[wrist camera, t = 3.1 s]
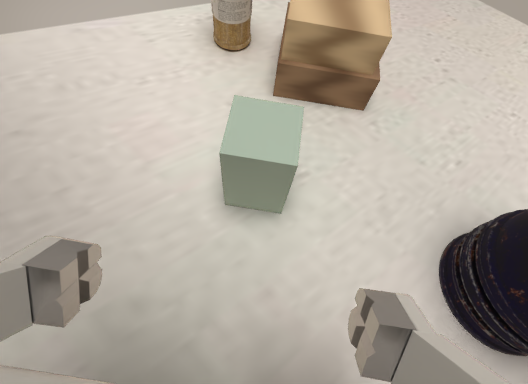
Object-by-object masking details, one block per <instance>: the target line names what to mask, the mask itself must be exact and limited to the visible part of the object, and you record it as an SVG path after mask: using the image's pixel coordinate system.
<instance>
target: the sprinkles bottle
mask: <svg viewBox="0 0 528 384" xmlns="http://www.w3.org/2000/svg"><path fill="white" fill-rule="evenodd" d="M211 5H212V13H213V22H214V40H215V42H216V43H217V44H218V45H219V46H220V47H222V48H224V49H228V50H240V49H243V48H244V47H246V46H247V45H248V44H249V43H250V40H251V34H250V19H251V13H252V0H211Z"/></svg>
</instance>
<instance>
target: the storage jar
mask: <svg viewBox="0 0 528 384" xmlns="http://www.w3.org/2000/svg"><path fill="white" fill-rule="evenodd" d="M439 277H440V284H441V288H442V292H443V295H444V297H445V300H446V302H447V304H448V306H449V308H450V309H451V311H452V313H453V314H454V316H455V317H456V319H457V320H458V321H459V322H460V324H461V325H462V326H463V327H464V328H465V329H466V330H467V331H468V332H469V333H470V334H471V335H472V336H474V337H475V338H476V339H477V340H479V341H480V342H482V343H483V344H485V345H487V346H488V347H490V348H492V349H494V350H497V351H500V352H502V353H506V354H511V355H523V356H528V209H525V210H517V211H514V212H509V213H506V214H503V215H500V216H498V217H497V218H495V219H494V220H491V221H489V222H486V223H484V224H482V225H480V226H478V227H476V228H475V229H474V230H472V231H471V232H469V233H466V234H463V235H461V236H459V237H457V238H456V239H454V240H453V241H452V242H450V243H449V244H448V246H447V247H446V248H445V250H444V252H443V254H442V256H441V260H440V265H439Z"/></svg>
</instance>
